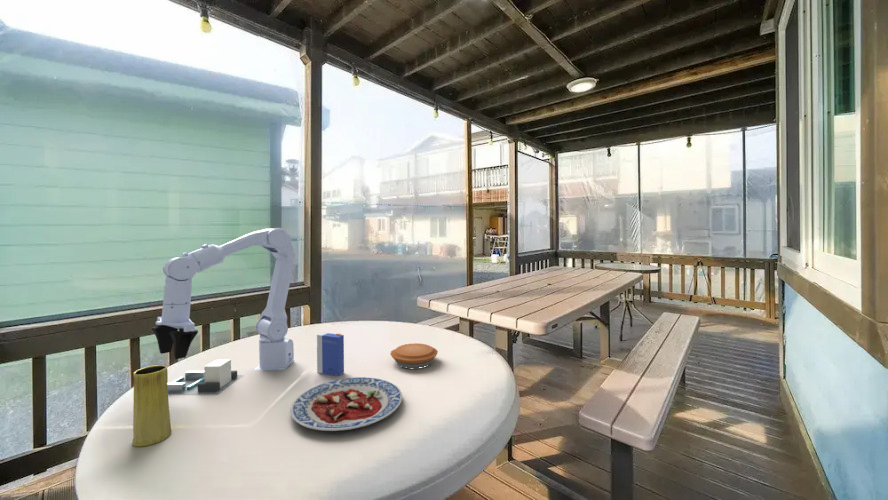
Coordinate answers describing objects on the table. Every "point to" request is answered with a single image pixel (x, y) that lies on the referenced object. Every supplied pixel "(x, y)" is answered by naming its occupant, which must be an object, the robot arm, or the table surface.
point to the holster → (213, 384)
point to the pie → (414, 355)
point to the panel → (195, 390)
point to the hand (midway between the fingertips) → (172, 355)
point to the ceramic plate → (346, 404)
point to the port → (181, 387)
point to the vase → (151, 406)
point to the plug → (218, 372)
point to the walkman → (330, 353)
